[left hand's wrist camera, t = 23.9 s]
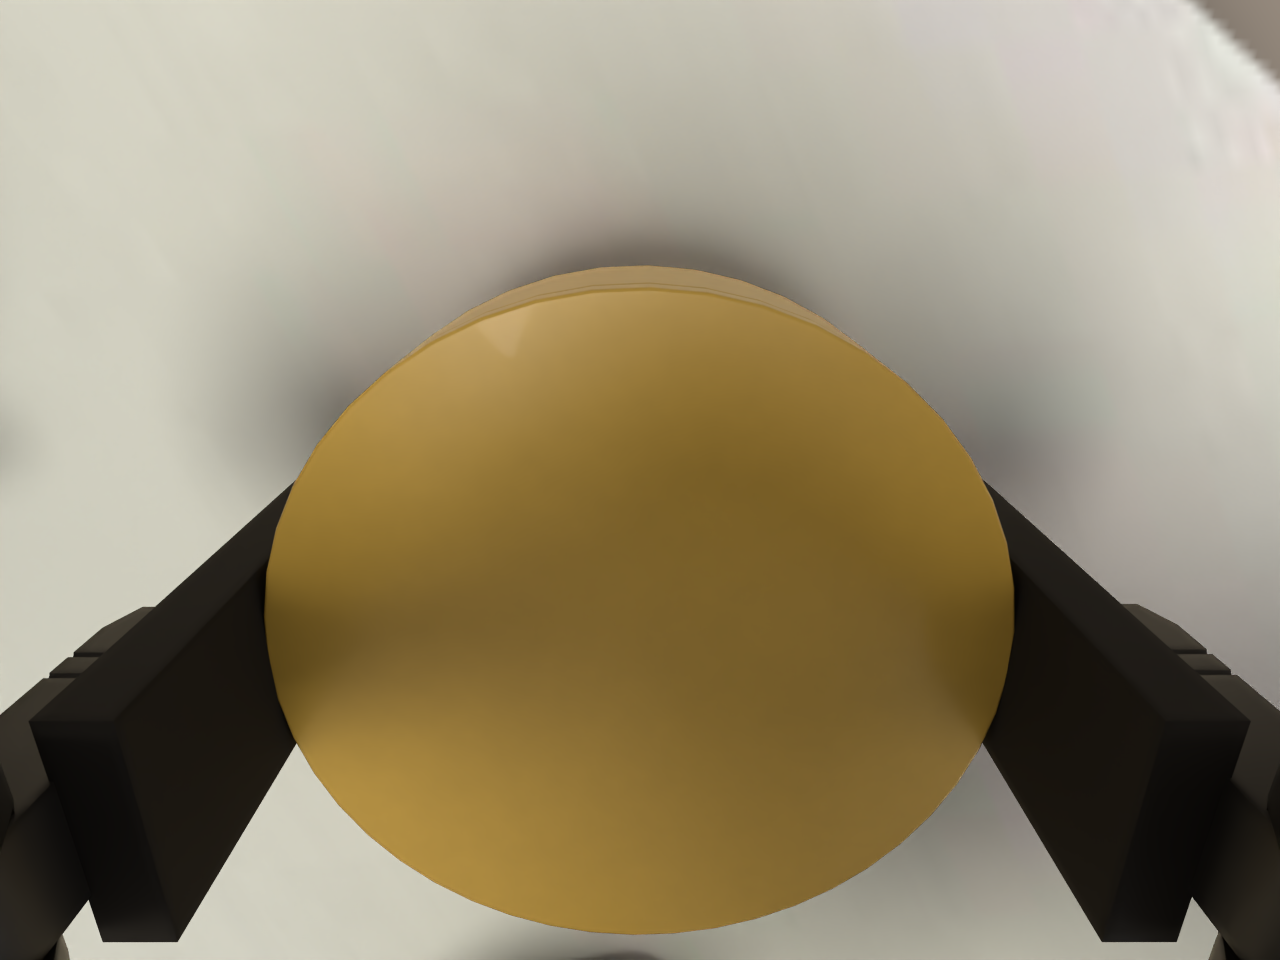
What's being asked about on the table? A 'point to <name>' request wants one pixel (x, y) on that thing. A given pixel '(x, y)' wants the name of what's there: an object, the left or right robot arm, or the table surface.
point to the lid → (639, 604)
